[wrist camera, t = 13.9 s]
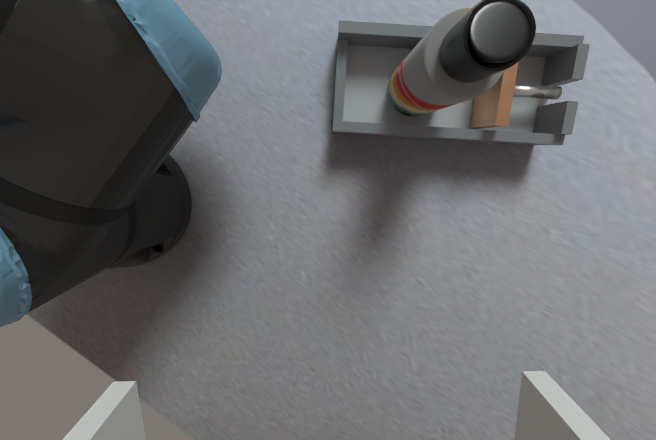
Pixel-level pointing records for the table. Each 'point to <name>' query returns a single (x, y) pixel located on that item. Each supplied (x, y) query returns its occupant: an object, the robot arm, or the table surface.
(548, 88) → the pusher
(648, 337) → the table surface
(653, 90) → the table surface
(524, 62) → the tray
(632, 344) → the table surface
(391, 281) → the table surface
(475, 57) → the lotion bottle
